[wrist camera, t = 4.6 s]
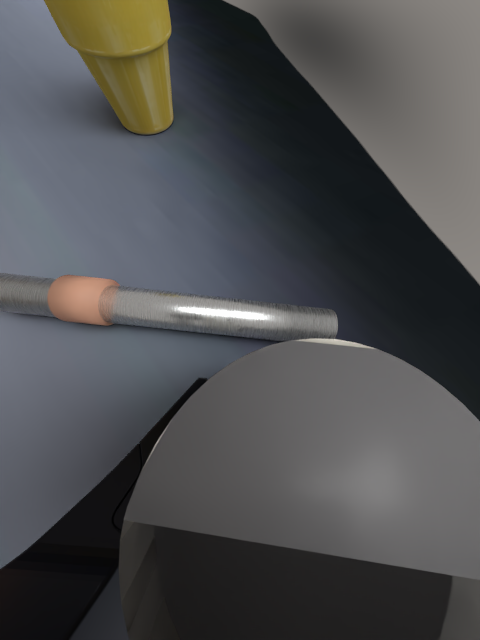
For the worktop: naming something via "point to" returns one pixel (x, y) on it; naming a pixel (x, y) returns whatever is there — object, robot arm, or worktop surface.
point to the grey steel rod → (161, 308)
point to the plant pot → (124, 55)
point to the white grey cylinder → (308, 505)
